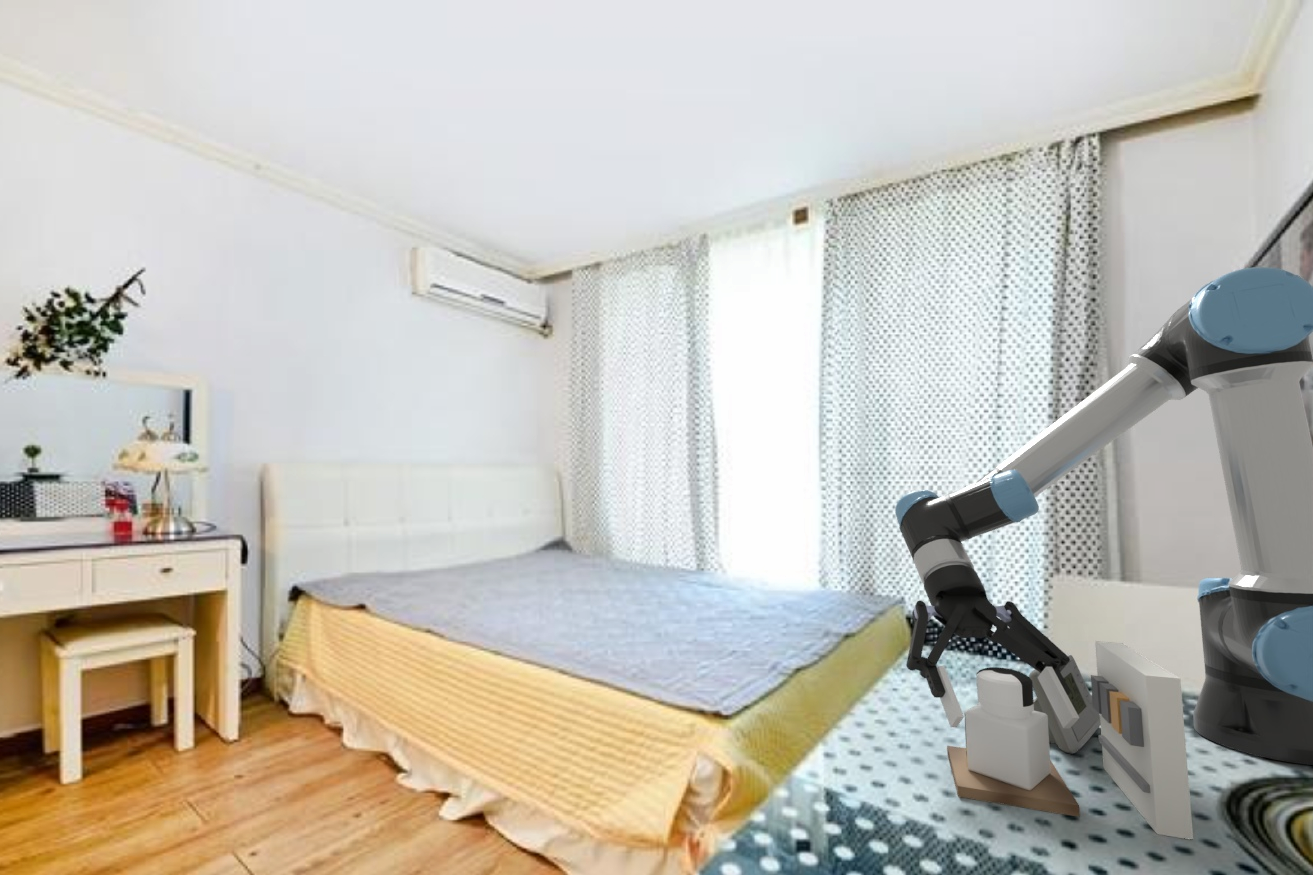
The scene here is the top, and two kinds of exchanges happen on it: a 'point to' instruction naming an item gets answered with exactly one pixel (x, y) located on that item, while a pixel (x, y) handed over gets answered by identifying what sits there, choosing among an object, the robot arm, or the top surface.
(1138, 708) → the breaker panel
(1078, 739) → the digital clock
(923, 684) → the top surface
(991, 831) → the top surface
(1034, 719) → the medicine bottle
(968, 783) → the walnut board
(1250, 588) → the robot arm
